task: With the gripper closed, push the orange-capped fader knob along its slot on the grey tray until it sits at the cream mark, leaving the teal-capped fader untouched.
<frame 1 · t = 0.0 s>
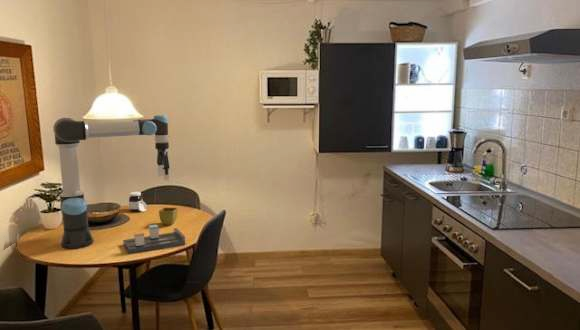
hand: (163, 178, 272), 28 cm above the table, fingers open, 13 cm apart
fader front: (139, 238, 233), point 6 cm above the table, slide at 3.0 cm
grey tray: (154, 244, 241), on the table
spread jar: (138, 210, 307), on the table
flower pot: (169, 224, 277), on the table
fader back: (153, 231, 244), point 6 cm above the table, slide at 0.0 cm
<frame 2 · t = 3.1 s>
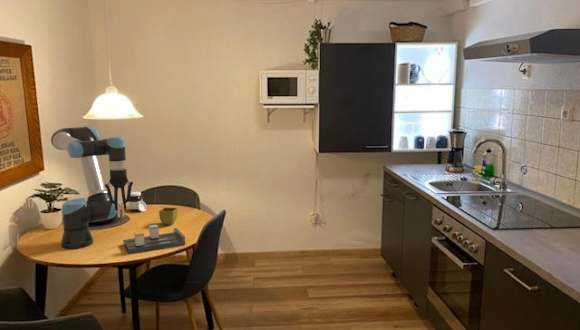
hand: (121, 216, 227), 18 cm above the table, fingers closed
nothing on the table moved.
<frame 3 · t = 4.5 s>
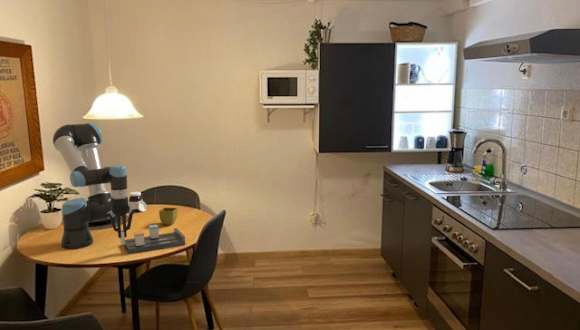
hand: (122, 243, 229), 4 cm above the table, fingers closed
nothing on the table moved.
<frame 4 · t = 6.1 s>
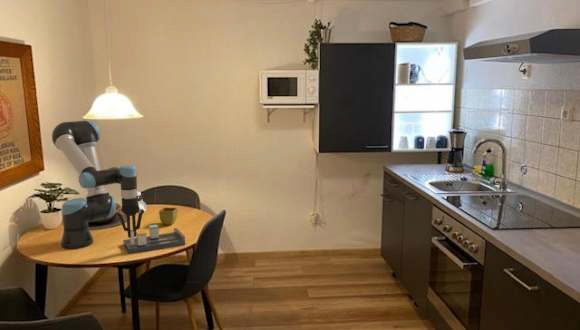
hand: (132, 243, 231), 4 cm above the table, fingers closed
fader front: (141, 238, 233), point 6 cm above the table, slide at 4.0 cm, touching gripper
everything else where it was.
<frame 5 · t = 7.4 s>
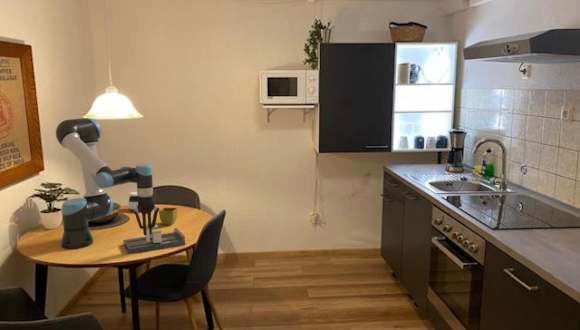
hand: (148, 240, 235), 4 cm above the table, fingers closed
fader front: (156, 235, 237), point 6 cm above the table, slide at 11.6 cm, touching gripper
everything else where it was.
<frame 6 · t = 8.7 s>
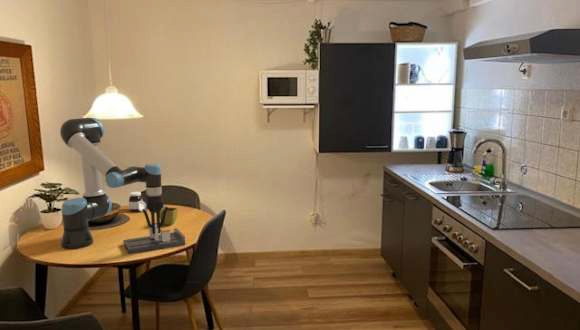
hand: (156, 239, 237), 4 cm above the table, fingers closed
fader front: (165, 234, 239), point 6 cm above the table, slide at 16.0 cm, touching gripper
everything else where it was.
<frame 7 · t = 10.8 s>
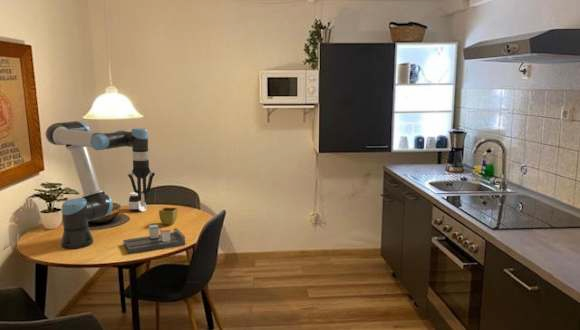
hand: (142, 205, 234), 22 cm above the table, fingers closed
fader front: (165, 234, 239), point 6 cm above the table, slide at 16.0 cm
everything else where it was.
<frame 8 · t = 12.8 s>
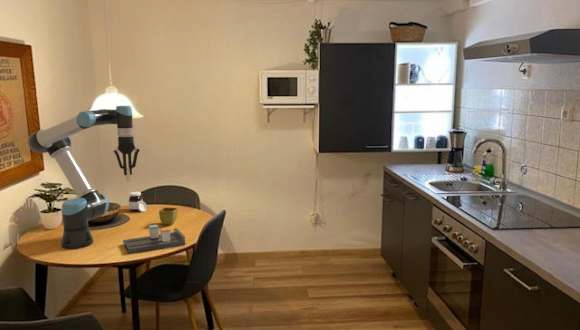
hand: (128, 181, 242), 32 cm above the table, fingers closed
nothing on the table moved.
at the end: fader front slide at 16.0 cm; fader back slide at 0.0 cm; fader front touching nothing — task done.
